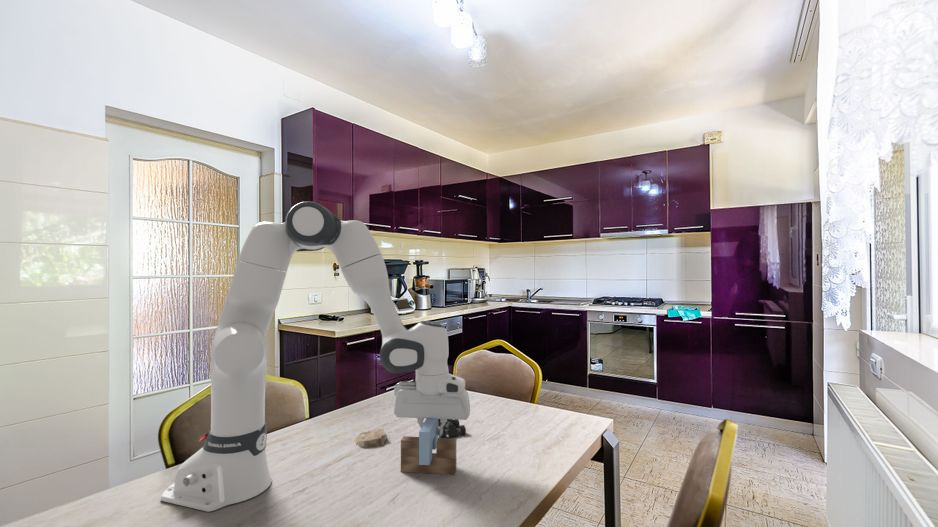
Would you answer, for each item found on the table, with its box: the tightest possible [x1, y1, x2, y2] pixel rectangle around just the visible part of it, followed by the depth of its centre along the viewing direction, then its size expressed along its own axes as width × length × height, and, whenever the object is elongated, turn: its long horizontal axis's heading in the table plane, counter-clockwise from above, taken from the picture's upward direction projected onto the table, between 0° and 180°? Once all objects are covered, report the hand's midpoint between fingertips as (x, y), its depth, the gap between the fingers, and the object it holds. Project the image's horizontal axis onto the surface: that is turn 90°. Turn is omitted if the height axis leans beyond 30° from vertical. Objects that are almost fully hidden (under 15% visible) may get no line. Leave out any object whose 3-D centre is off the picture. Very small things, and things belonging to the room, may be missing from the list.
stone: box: [354, 428, 388, 449], centre depth 120 cm, size 9×6×3 cm
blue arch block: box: [418, 418, 439, 465], centre depth 103 cm, size 12×2×8 cm, turn 174°
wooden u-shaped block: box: [400, 435, 457, 476], centre depth 103 cm, size 14×2×8 cm, turn 84°
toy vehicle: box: [438, 419, 467, 438], centre depth 130 cm, size 8×15×9 cm, turn 23°
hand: (432, 434), depth 107 cm, fingers closed on blue arch block, 2 cm apart
